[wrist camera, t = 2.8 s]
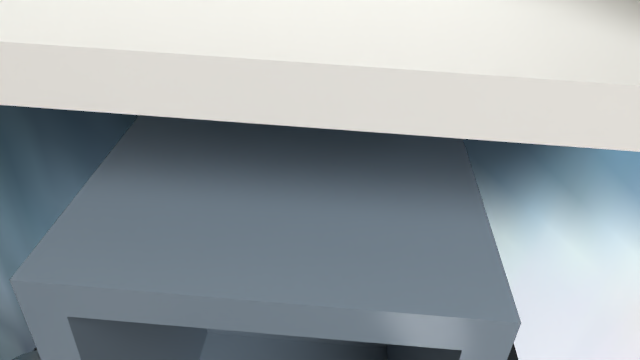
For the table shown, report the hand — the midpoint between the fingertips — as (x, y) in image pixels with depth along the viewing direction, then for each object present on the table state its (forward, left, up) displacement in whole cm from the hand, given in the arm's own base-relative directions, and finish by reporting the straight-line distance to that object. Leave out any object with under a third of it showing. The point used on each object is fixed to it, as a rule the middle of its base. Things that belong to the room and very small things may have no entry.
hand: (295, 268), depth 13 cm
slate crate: (0, 0, -1) cm, 1 cm away
